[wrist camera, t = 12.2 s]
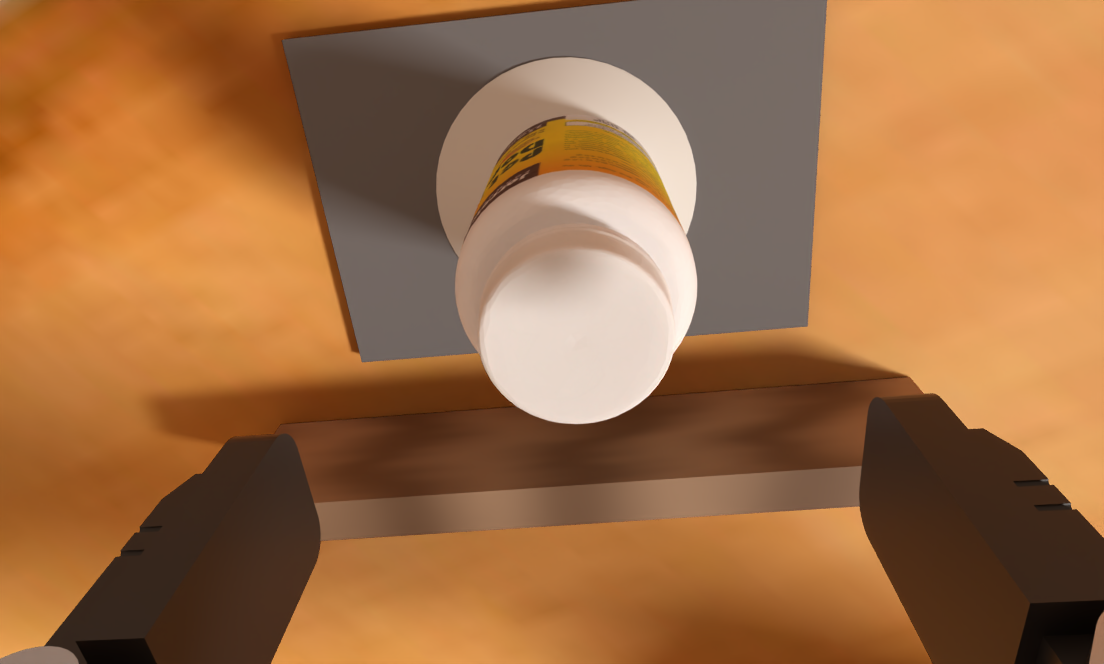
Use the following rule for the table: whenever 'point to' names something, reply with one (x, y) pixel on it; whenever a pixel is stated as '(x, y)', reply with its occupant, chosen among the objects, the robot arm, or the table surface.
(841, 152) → the table surface
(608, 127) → the supplement bottle
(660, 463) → the brown wooden plank
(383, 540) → the table surface
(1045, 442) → the table surface
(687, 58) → the mat
